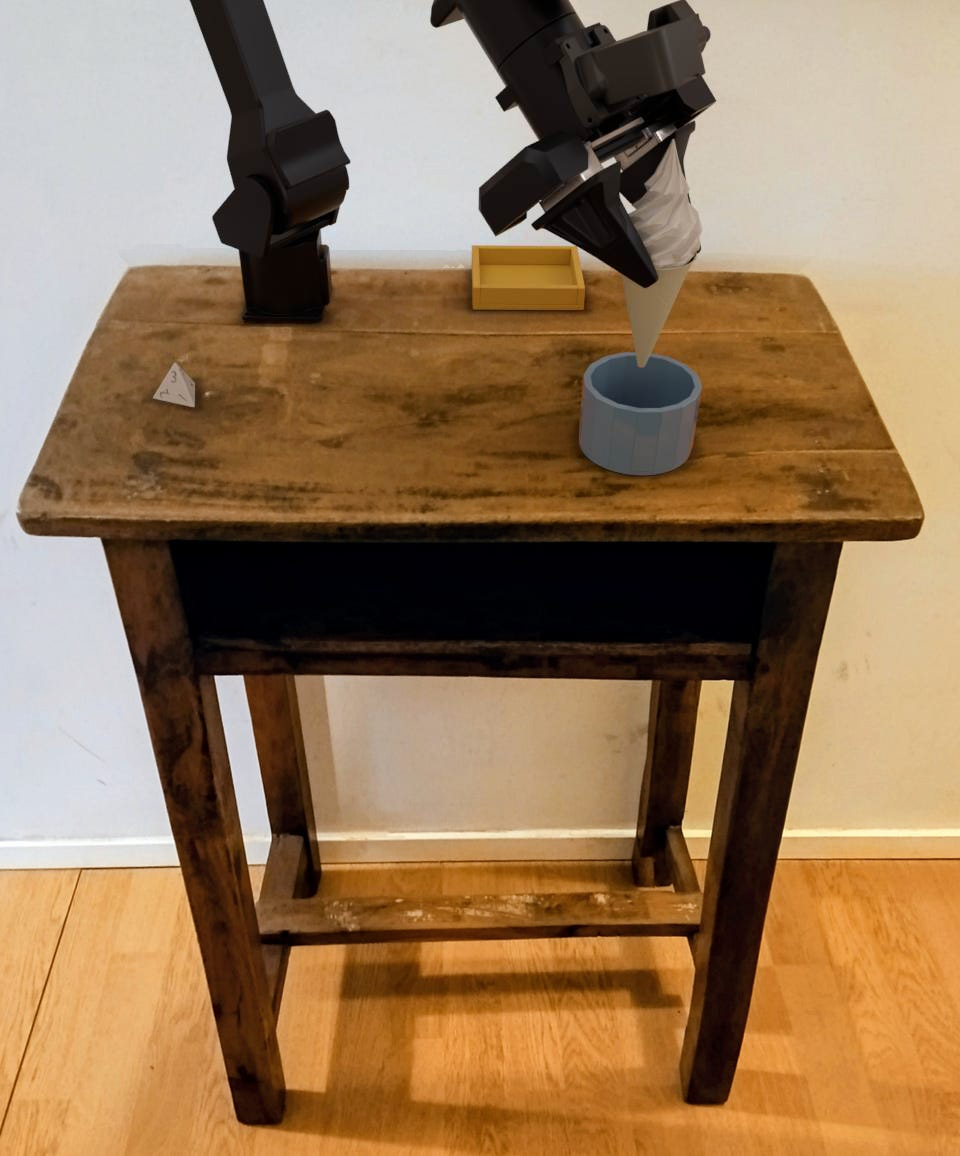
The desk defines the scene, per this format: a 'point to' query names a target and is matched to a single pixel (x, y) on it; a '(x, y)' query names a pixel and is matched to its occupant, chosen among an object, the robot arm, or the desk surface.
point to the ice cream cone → (662, 250)
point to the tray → (527, 278)
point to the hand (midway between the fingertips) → (673, 269)
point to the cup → (638, 413)
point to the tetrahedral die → (177, 388)
